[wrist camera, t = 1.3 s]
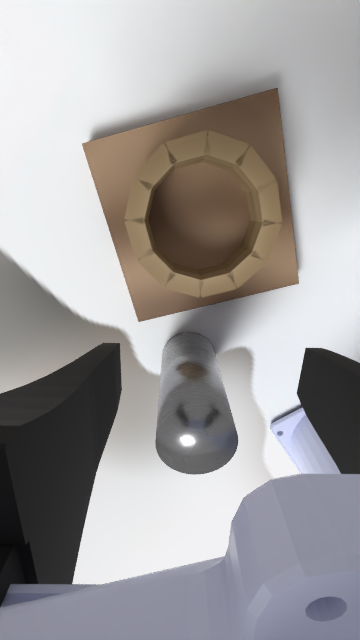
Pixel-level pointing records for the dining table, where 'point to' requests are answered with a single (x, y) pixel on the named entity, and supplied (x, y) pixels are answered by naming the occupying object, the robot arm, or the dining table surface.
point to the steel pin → (193, 408)
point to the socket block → (199, 205)
